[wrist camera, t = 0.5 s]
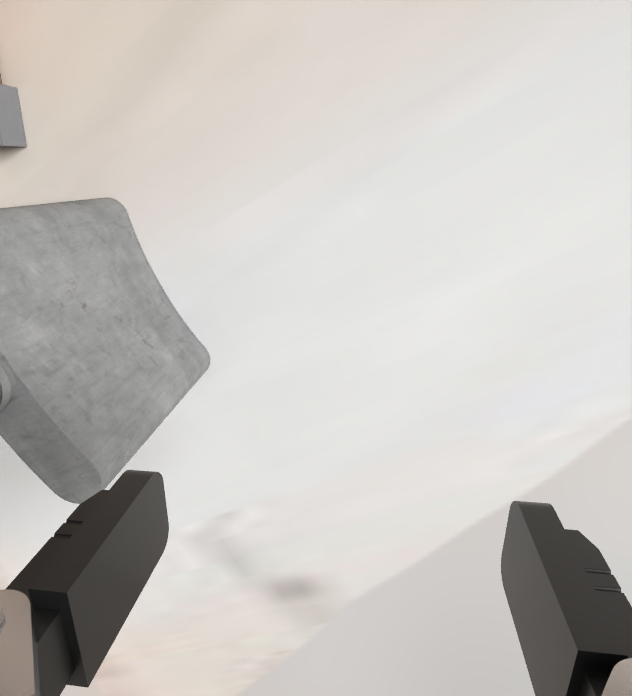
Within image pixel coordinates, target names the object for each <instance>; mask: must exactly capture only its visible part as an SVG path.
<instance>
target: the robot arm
mask: <svg viewBox="0 0 632 696" xmlns="http://www.w3.org/2000/svg"><path fill="white" fill-rule="evenodd" d="M168 531H169V524H168V516H167V508H166V499H165V491H164V483H163V478H162V475H161V474H160V473H159V472H149V471H136V470H127V471H125V472H124V473H123V474H122V475H121V477H120V478H119V479H118V480H117V481H116V483H115V484H114V485H113V486H112V487H111V489H110V490H101V491H99V492H98V493H96V494H95V495H93V496H92V497H90V498H89V499H87V500H85V501H84V502H82V503H81V504H80V505H79V506H78V507H77V509H76V510H75V511H74V512H73V513H72V514H71V515H70V516H69V518H68V519H67V522H66V523H63V524H62V526H61V527H60V528H59V529H58V530H57V531H56V532H55V535H54V537H51V538H50V539H49V540H48V542H47V543H46V544H45V545H44V546H43V547H42V548H41V550H40V551H39V552H38V553H37V554H36V555H35V556H34V557H33V559H32V560H31V561H30V562H29V563H28V564H27V565H26V567H25V568H24V569H23V570H22V571H21V572H20V573H19V575H18V576H17V577H16V578H15V579H14V580H13V581H12V583H11V584H10V585H9V586H8V587H7V588H6V589H5V590H0V696H60V694H61V692H62V691H63V689H64V688H65V686H66V685H74V686H81V687H89V685H90V683H91V681H92V680H93V678H94V676H95V674H96V672H97V671H98V669H99V667H100V665H101V663H102V662H103V660H104V658H105V656H106V654H107V653H108V651H109V649H110V647H111V645H112V644H113V642H114V640H115V638H116V636H117V635H118V633H119V631H120V629H121V627H122V626H123V624H124V622H125V620H126V618H127V617H128V615H129V613H130V611H131V610H132V608H133V606H134V604H135V602H136V601H137V599H138V597H139V595H140V593H141V592H142V590H143V588H144V586H145V584H146V583H147V581H148V579H149V577H150V575H151V574H152V572H153V570H154V568H155V566H156V565H157V563H158V561H159V559H160V557H161V556H162V554H163V552H164V549H165V546H166V543H167V539H168ZM501 573H502V581H503V586H504V590H505V593H506V597H507V600H508V604H509V607H510V610H511V614H512V617H513V621H514V624H515V627H516V631H517V634H518V638H519V641H520V644H521V647H522V651H523V655H524V658H525V661H526V664H527V668H528V671H529V675H530V678H531V682H532V685H533V688H534V692H535V695H536V696H632V607H631V605H630V603H629V602H628V600H627V598H626V596H625V595H624V593H621V588H620V586H619V584H618V582H617V581H616V579H615V577H614V576H613V575H611V570H610V568H609V567H608V565H607V563H606V561H605V559H604V558H603V556H602V554H601V552H600V551H599V549H598V548H596V546H595V545H593V544H592V543H591V542H590V541H589V540H588V539H587V538H586V537H585V536H584V535H582V534H581V533H580V532H579V531H578V530H566V529H564V528H563V526H562V524H561V522H560V520H559V518H558V516H557V514H556V512H555V510H554V508H553V506H552V505H551V504H547V503H535V502H522V501H513V502H512V504H511V506H510V511H509V517H508V523H507V528H506V535H505V540H504V545H503V551H502V558H501Z"/></svg>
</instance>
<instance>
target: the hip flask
mask: <svg viewBox="0 0 632 696" xmlns="http://www.w3.org/2000/svg"><path fill="white" fill-rule="evenodd" d="M209 364H210V356H209V353H208V351H207V350H206V348H205V347H204V346H203V345H202V344H201V342H200V341H199V340H198V339H197V338H196V336H195V335H194V334H193V333H192V331H191V330H190V329H189V328H188V326H187V325H186V323H185V322H184V321H183V319H182V318H181V317H180V315H179V314H178V312H177V311H176V309H175V308H174V306H173V305H172V303H171V301H170V300H169V298H168V297H167V295H166V293H165V292H164V290H163V288H162V286H161V285H160V283H159V281H158V280H157V278H156V276H155V274H154V272H153V270H152V269H151V267H150V265H149V263H148V261H147V259H146V257H145V255H144V253H143V251H142V248H141V246H140V244H139V242H138V239H137V237H136V234H135V232H134V229H133V227H132V224H131V221H130V219H129V216H128V213H127V211H126V209H125V208H124V206H123V205H122V204H121V203H120V202H118V201H117V200H115V199H112V198H98V199H89V200H79V201H69V202H59V203H49V204H39V205H30V206H20V207H10V208H0V435H1V436H2V437H3V439H4V440H5V441H6V442H7V443H8V444H9V446H10V447H11V448H12V449H13V450H14V451H15V452H16V453H17V455H18V456H19V457H20V458H21V459H22V460H23V461H24V462H25V463H26V464H27V465H28V466H29V468H30V469H31V470H32V471H33V472H34V473H35V474H36V475H37V476H38V477H39V478H40V479H41V480H42V481H43V482H44V483H45V484H46V485H47V486H48V487H49V488H50V489H51V490H52V491H53V492H54V493H55V494H57V495H58V496H59V497H61V498H62V499H64V500H66V501H69V502H72V503H78V504H81V503H82V502H84V501H85V500H87V499H89V498H90V497H92V496H93V495H95V494H96V493H98V492H99V491H101V490H104V489H105V488H106V487H107V486H108V484H109V483H110V482H111V481H112V480H113V479H114V477H115V476H116V475H117V474H118V473H119V472H120V470H121V469H122V468H123V467H124V466H125V465H126V463H127V462H128V461H129V460H130V459H131V458H132V456H133V455H134V454H135V453H136V452H137V451H138V449H139V448H140V447H141V446H142V445H143V444H144V442H145V441H146V440H147V439H148V438H149V437H150V435H151V434H152V433H153V432H154V431H155V430H156V428H157V427H158V426H159V425H160V424H161V423H162V421H163V420H164V419H165V418H166V417H167V416H168V414H169V413H170V412H171V411H172V410H173V409H174V407H175V406H176V405H177V404H178V403H179V402H180V400H181V399H182V398H183V397H184V396H185V395H186V393H187V392H188V391H189V390H190V389H191V388H192V386H193V385H194V384H195V383H196V382H197V381H198V379H199V378H200V377H201V376H202V375H203V374H204V373H205V371H206V370H207V369H208V367H209Z"/></svg>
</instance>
